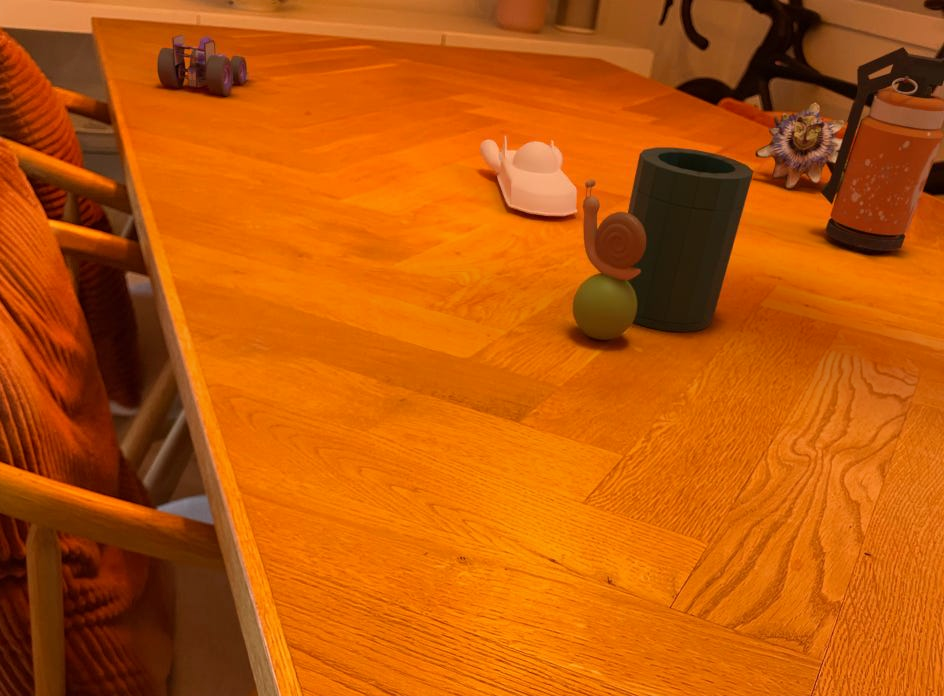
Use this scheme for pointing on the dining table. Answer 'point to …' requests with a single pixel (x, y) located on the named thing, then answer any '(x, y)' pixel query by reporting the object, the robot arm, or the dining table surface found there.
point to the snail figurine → (608, 271)
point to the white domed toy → (532, 178)
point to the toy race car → (200, 67)
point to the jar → (685, 233)
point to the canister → (886, 152)
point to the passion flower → (803, 146)
